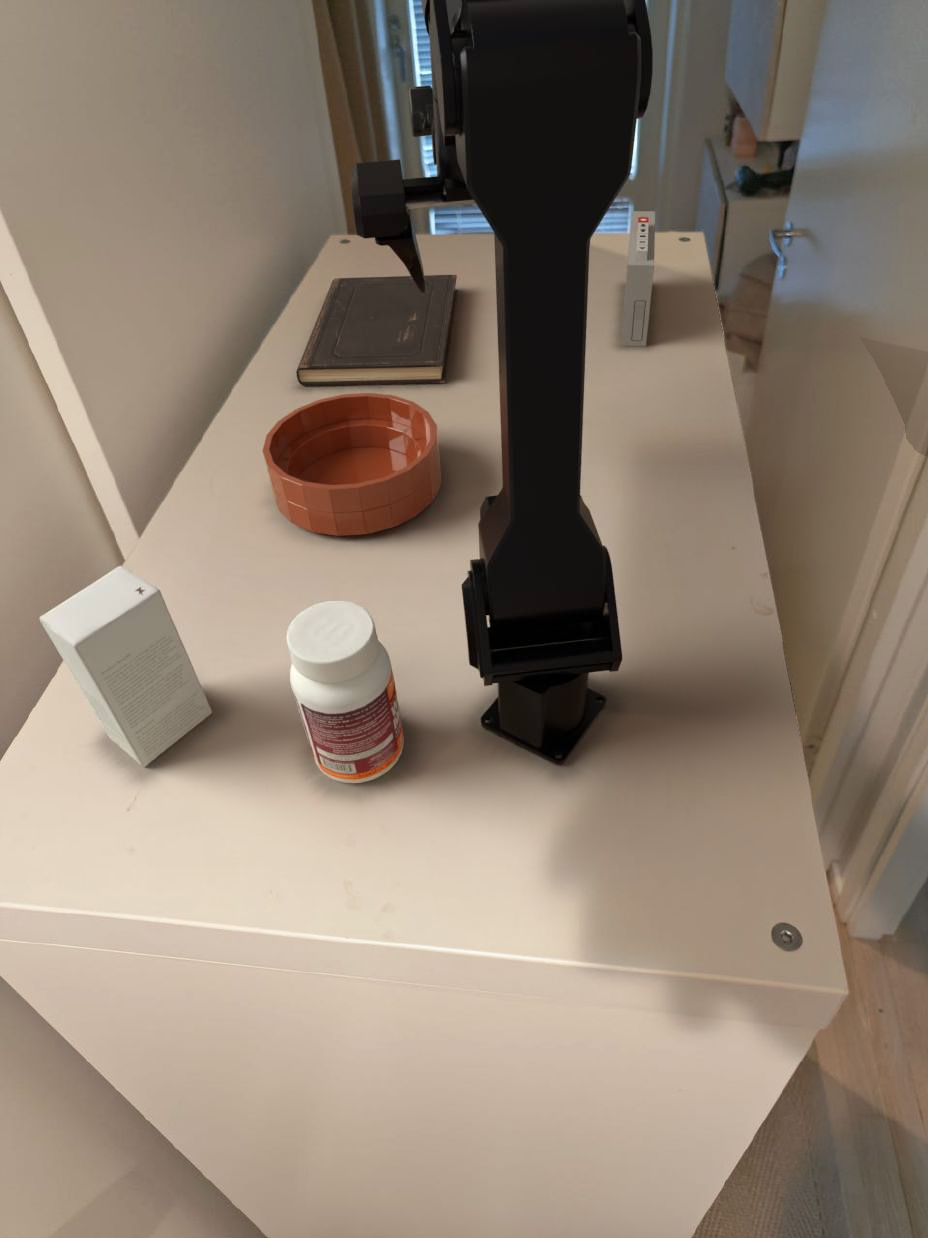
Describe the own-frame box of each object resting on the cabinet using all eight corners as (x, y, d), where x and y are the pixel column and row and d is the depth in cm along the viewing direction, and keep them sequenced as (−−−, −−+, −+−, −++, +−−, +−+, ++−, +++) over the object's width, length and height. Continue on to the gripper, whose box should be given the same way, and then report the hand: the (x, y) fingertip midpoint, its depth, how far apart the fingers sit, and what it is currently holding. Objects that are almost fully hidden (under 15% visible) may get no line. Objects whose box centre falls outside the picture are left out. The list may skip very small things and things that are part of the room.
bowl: (371, 562, 70) (362, 509, 67) (242, 506, 77) (226, 455, 73) (473, 471, 79) (470, 419, 75) (349, 427, 86) (340, 378, 82)
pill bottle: (421, 757, 56) (404, 637, 48) (339, 803, 54) (306, 686, 46) (376, 699, 60) (353, 579, 52) (297, 740, 58) (260, 621, 50)
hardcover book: (457, 292, 107) (456, 274, 106) (444, 383, 91) (443, 363, 89) (333, 295, 109) (330, 278, 107) (298, 386, 92) (294, 367, 91)
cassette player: (625, 286, 106) (632, 202, 99) (647, 286, 105) (656, 202, 98) (621, 345, 95) (628, 255, 88) (645, 346, 95) (655, 255, 88)
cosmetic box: (177, 686, 62) (122, 561, 53) (214, 714, 60) (163, 588, 51) (106, 740, 58) (35, 616, 50) (142, 771, 56) (74, 647, 48)
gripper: (585, 23, 63) (568, 217, 76) (334, 44, 62) (362, 236, 76) (616, 102, 57) (592, 297, 71) (340, 127, 57) (369, 319, 70)
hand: (476, 284), depth 72 cm, fingers open, 9 cm apart
